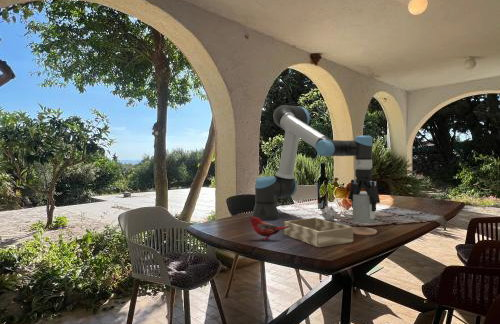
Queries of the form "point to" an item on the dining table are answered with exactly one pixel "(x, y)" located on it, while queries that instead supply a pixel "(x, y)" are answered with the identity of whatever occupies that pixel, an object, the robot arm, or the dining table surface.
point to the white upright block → (361, 208)
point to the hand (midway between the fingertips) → (363, 216)
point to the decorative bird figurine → (265, 228)
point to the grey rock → (329, 213)
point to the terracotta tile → (364, 231)
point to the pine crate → (318, 232)
